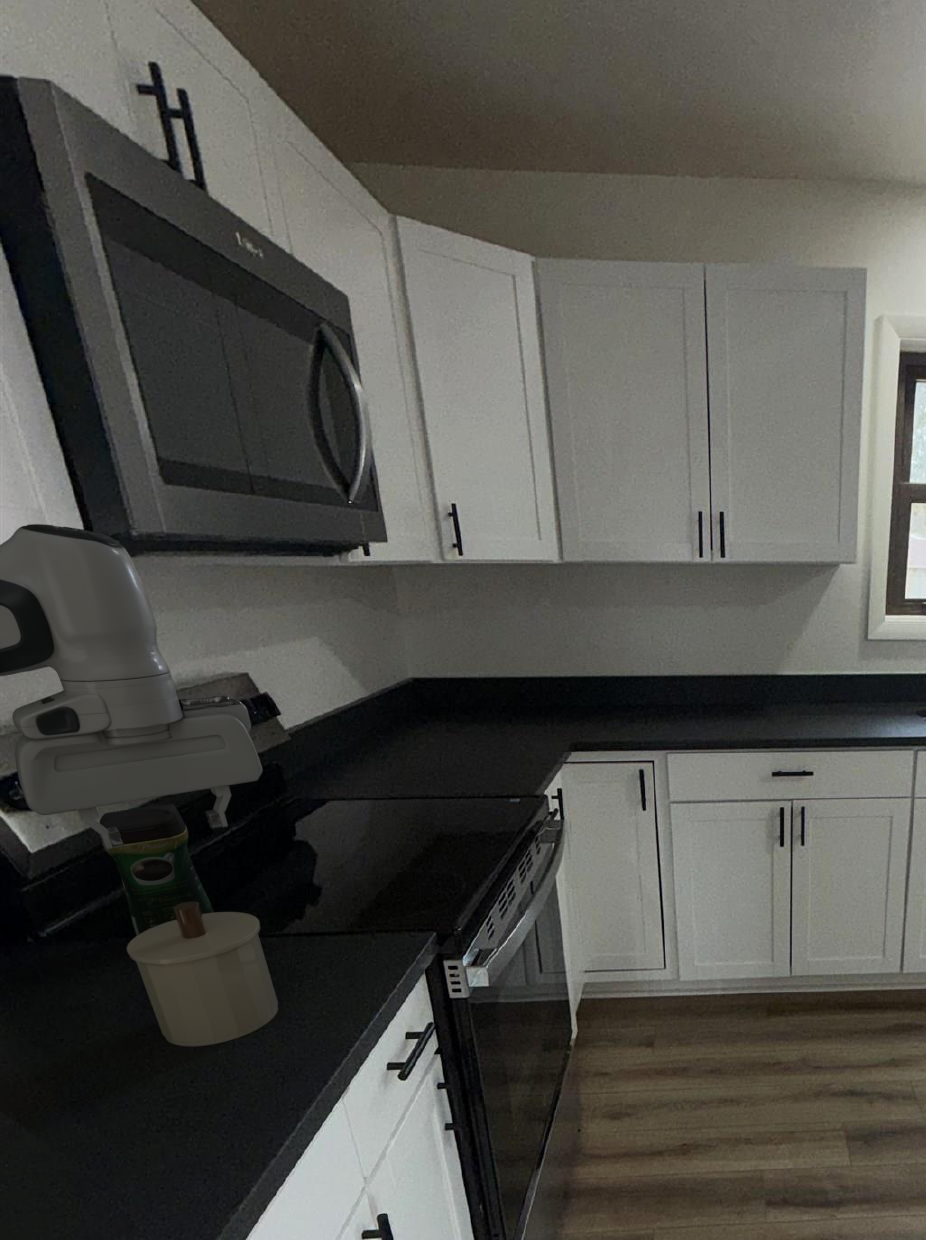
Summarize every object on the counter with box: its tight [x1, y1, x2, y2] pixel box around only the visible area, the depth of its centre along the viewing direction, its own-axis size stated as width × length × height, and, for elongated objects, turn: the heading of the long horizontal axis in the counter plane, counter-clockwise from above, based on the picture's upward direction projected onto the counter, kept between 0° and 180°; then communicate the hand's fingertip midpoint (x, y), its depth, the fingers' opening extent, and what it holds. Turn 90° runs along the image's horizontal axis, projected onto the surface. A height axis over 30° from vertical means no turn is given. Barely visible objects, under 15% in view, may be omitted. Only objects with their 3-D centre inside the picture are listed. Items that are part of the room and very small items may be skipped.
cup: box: [135, 933, 279, 1047], centre depth 96 cm, size 12×12×11 cm
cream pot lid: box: [126, 902, 261, 964], centre depth 93 cm, size 13×13×5 cm
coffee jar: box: [99, 803, 215, 936], centre depth 116 cm, size 10×8×19 cm
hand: (168, 836), depth 89 cm, fingers open, 8 cm apart
